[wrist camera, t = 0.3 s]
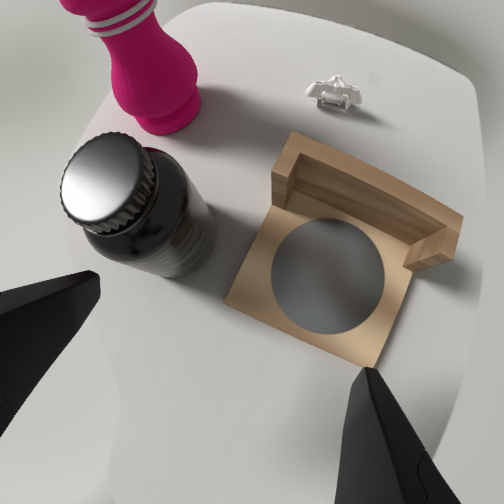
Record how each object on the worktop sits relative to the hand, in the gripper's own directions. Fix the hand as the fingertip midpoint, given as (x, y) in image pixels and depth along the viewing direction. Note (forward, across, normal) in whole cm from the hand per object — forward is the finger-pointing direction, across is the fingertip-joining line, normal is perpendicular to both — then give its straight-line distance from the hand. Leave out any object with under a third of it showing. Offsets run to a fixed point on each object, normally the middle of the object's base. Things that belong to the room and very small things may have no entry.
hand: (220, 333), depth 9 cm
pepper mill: (+20, +13, -4) cm, 25 cm away
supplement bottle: (+14, +8, +5) cm, 17 cm away
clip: (+23, -1, -8) cm, 25 cm away
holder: (+14, -4, +4) cm, 15 cm away
